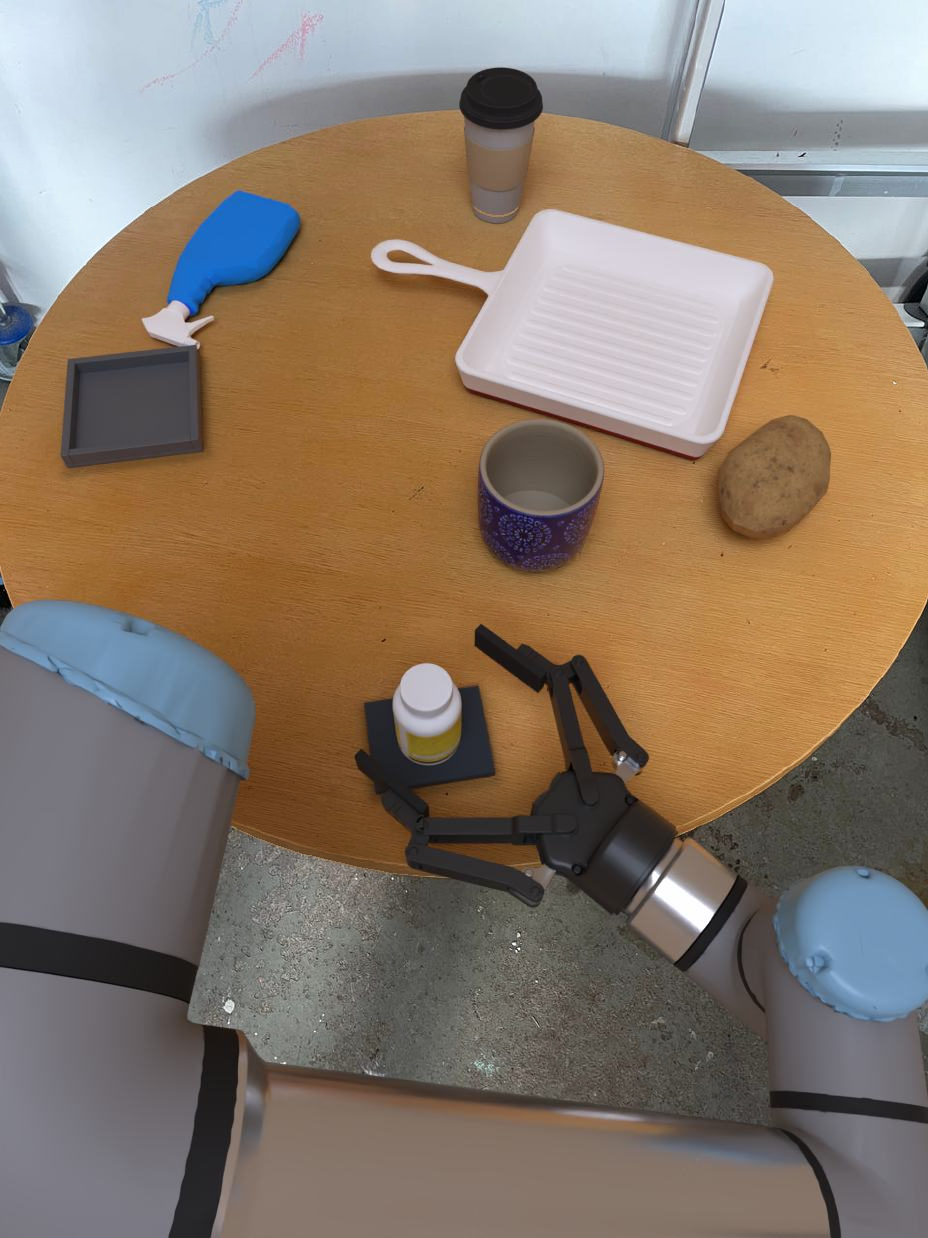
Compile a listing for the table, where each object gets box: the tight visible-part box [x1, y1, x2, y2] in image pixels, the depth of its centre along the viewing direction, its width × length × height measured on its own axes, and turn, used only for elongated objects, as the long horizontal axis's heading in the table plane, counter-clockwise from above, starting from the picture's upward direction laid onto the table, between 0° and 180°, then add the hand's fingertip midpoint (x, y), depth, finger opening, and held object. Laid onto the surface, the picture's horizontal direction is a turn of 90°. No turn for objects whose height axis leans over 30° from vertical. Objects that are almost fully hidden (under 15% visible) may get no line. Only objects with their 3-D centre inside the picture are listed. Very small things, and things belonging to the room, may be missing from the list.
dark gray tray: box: [60, 345, 204, 469], centre depth 91 cm, size 14×14×2 cm
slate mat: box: [363, 685, 496, 796], centre depth 73 cm, size 10×8×1 cm
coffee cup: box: [458, 66, 544, 224], centre depth 102 cm, size 9×9×15 cm
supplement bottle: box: [392, 662, 462, 765], centre depth 69 cm, size 5×5×10 cm
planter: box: [476, 418, 605, 573], centre depth 79 cm, size 11×11×11 cm
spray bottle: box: [141, 189, 302, 350], centre depth 101 cm, size 3×11×24 cm
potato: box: [718, 414, 832, 539], centre depth 83 cm, size 10×14×8 cm
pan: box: [370, 208, 775, 461], centre depth 96 cm, size 28×44×5 cm, turn 68°
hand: (420, 693), depth 66 cm, fingers open, 13 cm apart
